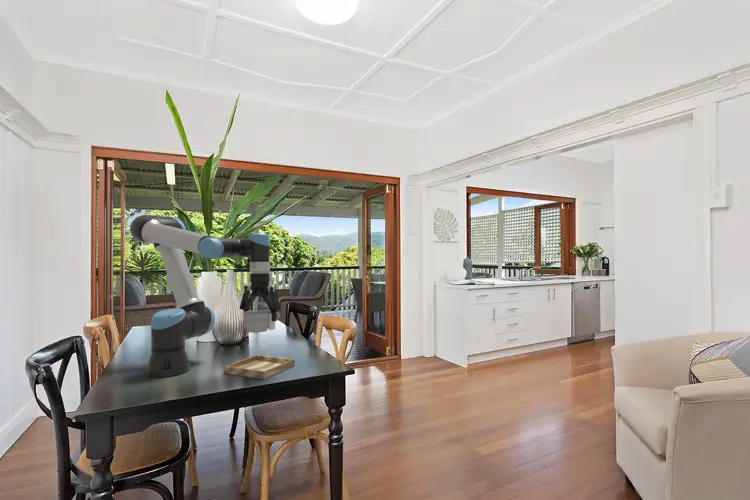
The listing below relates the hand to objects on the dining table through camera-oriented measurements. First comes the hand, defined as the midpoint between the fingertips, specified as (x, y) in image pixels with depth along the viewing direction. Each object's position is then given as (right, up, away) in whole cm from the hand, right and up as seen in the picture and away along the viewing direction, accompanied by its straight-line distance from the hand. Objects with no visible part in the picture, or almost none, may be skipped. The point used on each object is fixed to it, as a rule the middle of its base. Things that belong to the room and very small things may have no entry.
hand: (260, 328), depth 158 cm
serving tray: (0, -16, 0) cm, 16 cm away
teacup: (+1, -1, -1) cm, 2 cm away
